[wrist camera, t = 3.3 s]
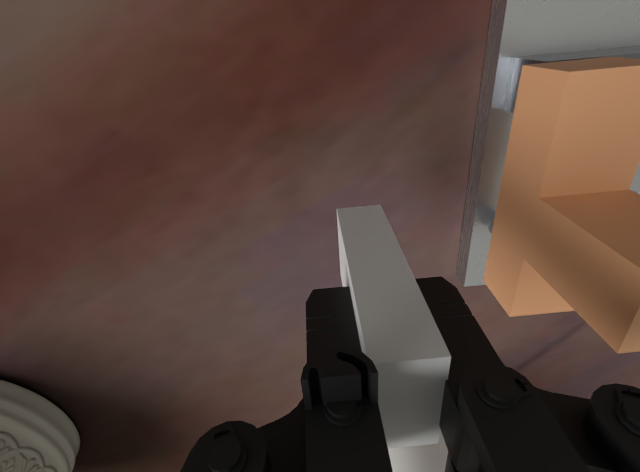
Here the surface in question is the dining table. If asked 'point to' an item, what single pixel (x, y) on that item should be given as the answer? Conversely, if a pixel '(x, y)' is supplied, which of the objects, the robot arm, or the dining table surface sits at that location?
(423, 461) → the can
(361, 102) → the dining table surface
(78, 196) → the dining table surface
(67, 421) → the jar
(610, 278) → the orange t-shaped block
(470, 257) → the grey assembly fixture
